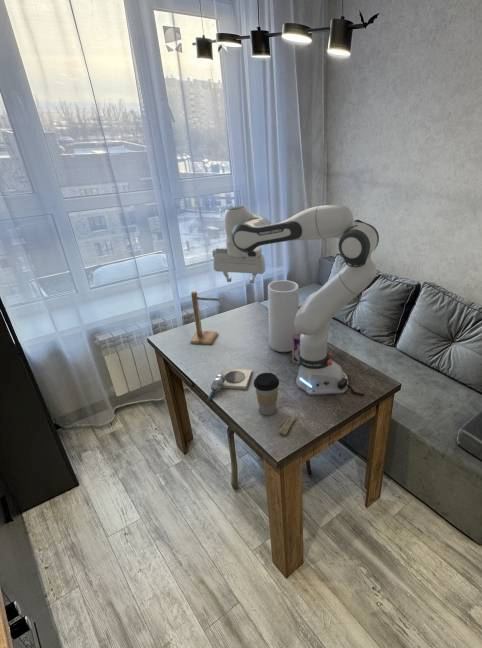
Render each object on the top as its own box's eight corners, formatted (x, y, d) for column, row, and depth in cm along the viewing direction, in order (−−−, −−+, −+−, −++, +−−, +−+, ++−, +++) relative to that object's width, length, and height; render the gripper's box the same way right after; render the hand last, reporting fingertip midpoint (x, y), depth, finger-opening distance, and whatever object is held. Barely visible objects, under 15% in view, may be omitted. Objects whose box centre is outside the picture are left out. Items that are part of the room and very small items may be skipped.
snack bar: (286, 434, 142) (278, 430, 142) (284, 437, 143) (277, 433, 143) (296, 417, 149) (289, 413, 150) (295, 420, 150) (288, 416, 151)
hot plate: (251, 372, 174) (251, 369, 174) (246, 389, 164) (245, 386, 163) (224, 370, 175) (224, 367, 174) (217, 387, 164) (216, 384, 163)
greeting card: (291, 363, 182) (291, 335, 174) (298, 355, 188) (298, 327, 180) (313, 369, 178) (314, 341, 170) (320, 361, 184) (321, 333, 176)
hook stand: (227, 334, 201) (222, 289, 189) (221, 345, 193) (216, 298, 180) (197, 333, 202) (191, 287, 189) (191, 343, 193) (183, 296, 180)
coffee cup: (275, 420, 149) (274, 388, 141) (251, 416, 150) (249, 384, 143) (283, 404, 157) (282, 373, 149) (260, 400, 158) (258, 369, 151)
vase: (263, 347, 193) (260, 287, 177) (281, 335, 203) (280, 277, 187) (287, 356, 187) (286, 295, 170) (304, 343, 197) (305, 284, 181)
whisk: (216, 370, 162) (190, 416, 151) (229, 375, 162) (204, 422, 151) (216, 373, 166) (191, 419, 154) (228, 379, 166) (204, 425, 155)
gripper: (209, 250, 152) (213, 283, 159) (262, 253, 151) (264, 286, 159) (214, 245, 157) (217, 277, 164) (265, 248, 157) (266, 280, 164)
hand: (240, 282), depth 161 cm, fingers open, 8 cm apart
